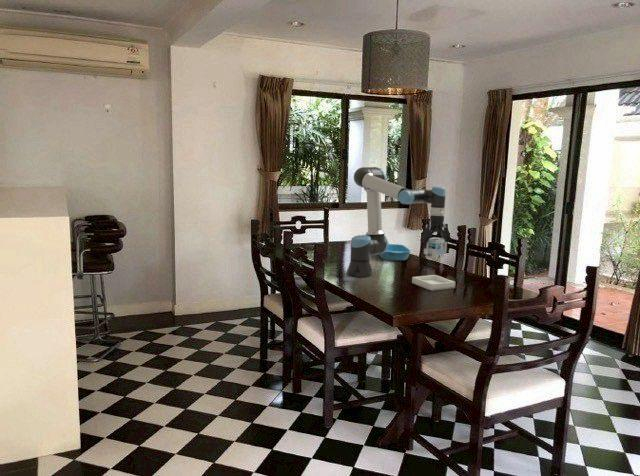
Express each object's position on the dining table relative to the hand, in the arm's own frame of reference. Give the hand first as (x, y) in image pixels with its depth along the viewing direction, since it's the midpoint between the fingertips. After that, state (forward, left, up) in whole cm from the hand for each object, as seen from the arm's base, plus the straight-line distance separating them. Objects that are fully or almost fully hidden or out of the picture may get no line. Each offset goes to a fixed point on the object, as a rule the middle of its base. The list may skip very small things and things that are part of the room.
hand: (435, 253), depth 281 cm
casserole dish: (+24, +78, -19) cm, 84 cm away
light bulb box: (0, 0, -3) cm, 3 cm away
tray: (0, 0, -18) cm, 18 cm away
